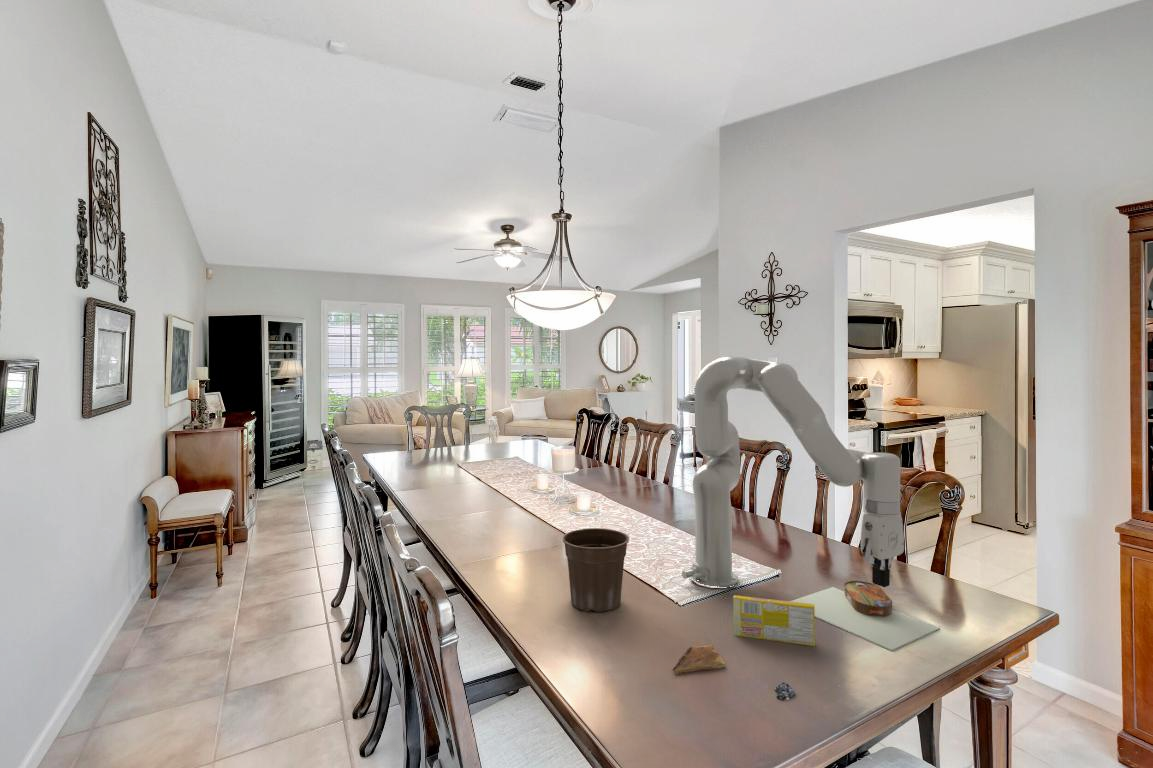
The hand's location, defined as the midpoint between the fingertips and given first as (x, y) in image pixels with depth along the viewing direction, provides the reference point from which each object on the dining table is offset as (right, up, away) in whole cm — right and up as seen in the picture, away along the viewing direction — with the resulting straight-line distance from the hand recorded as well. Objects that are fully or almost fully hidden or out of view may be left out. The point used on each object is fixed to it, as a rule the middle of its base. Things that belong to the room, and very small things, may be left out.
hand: (880, 584), depth 131 cm
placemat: (-6, -6, -2) cm, 9 cm away
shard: (-47, -8, -22) cm, 52 cm away
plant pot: (-66, -7, +7) cm, 67 cm away
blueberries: (-34, -9, -31) cm, 47 cm away
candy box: (-29, -7, -12) cm, 33 cm away
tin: (+3, -5, +3) cm, 6 cm away
